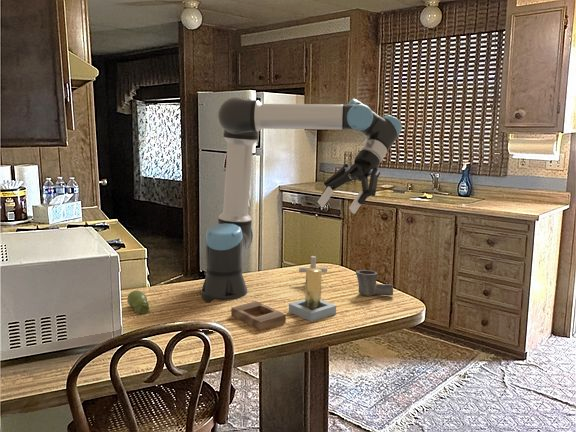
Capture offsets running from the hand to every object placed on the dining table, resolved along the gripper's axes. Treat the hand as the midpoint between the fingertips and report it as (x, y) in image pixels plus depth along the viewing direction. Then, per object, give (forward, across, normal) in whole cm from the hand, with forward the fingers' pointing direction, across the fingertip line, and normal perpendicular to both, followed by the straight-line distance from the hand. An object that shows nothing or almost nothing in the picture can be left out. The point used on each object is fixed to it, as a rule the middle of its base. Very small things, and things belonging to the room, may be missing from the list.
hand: (335, 207), depth 166 cm
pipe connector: (+15, -20, +30) cm, 39 cm away
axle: (+29, +3, +13) cm, 32 cm away
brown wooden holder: (+42, -3, +3) cm, 42 cm away
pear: (+57, -35, -12) cm, 68 cm away
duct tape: (+53, -5, -8) cm, 54 cm away
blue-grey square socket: (+31, +3, +14) cm, 34 cm away
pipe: (+9, +1, +36) cm, 37 cm away
